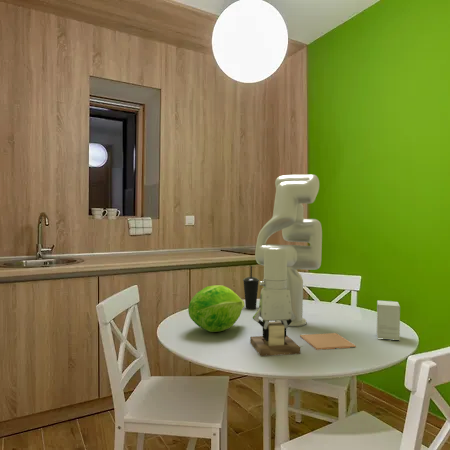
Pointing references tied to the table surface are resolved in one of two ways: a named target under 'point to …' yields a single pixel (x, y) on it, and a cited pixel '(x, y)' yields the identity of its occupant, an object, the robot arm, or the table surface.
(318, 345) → the pad
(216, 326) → the lettuce
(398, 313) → the supplement box
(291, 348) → the pocket block
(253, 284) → the drinking cup
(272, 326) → the maple block
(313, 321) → the table surface
